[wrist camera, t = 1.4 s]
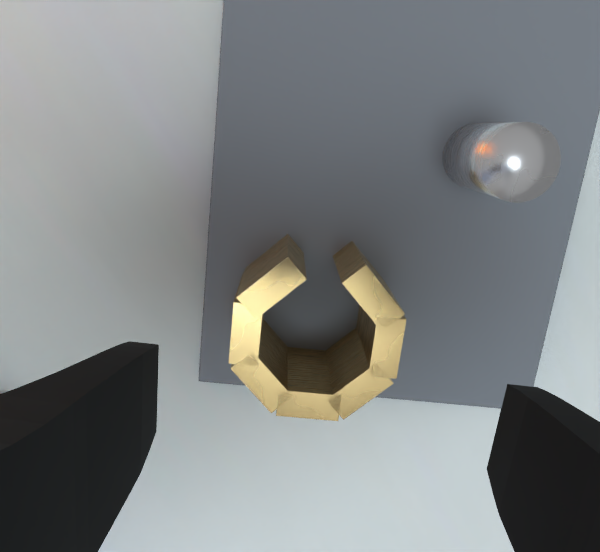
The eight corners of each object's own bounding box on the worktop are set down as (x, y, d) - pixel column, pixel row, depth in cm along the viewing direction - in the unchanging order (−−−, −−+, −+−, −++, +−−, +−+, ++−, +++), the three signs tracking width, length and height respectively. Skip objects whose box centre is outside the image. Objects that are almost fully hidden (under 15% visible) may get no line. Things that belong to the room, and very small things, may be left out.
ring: (372, 376, 21) (388, 425, 18) (235, 364, 21) (224, 410, 17) (392, 244, 20) (414, 269, 16) (246, 229, 20) (237, 251, 16)
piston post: (498, 190, 19) (550, 206, 16) (437, 184, 19) (474, 198, 15) (511, 126, 19) (569, 126, 15) (448, 119, 19) (490, 117, 15)
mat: (523, 405, 22) (527, 410, 22) (200, 376, 21) (198, 381, 21) (619, 0, 18) (626, -3, 18) (228, -50, 18) (227, -53, 17)
